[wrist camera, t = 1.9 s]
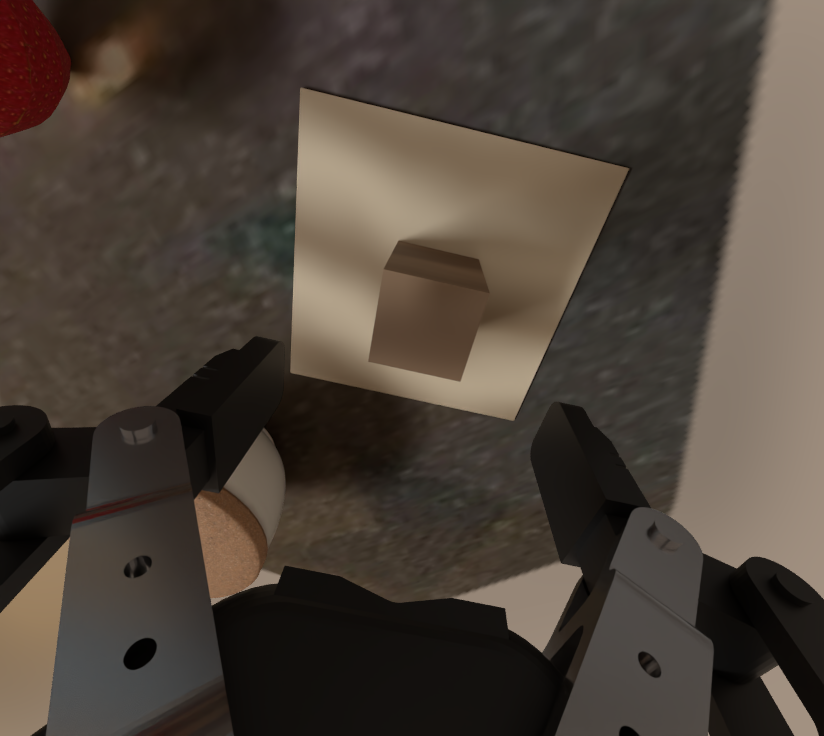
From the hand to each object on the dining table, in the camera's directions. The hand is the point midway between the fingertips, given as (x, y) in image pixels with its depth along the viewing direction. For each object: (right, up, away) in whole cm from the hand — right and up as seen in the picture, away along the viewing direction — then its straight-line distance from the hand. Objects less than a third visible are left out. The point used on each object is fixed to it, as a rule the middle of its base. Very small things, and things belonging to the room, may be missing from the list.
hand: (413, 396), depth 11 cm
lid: (+1, +5, +8) cm, 10 cm away
